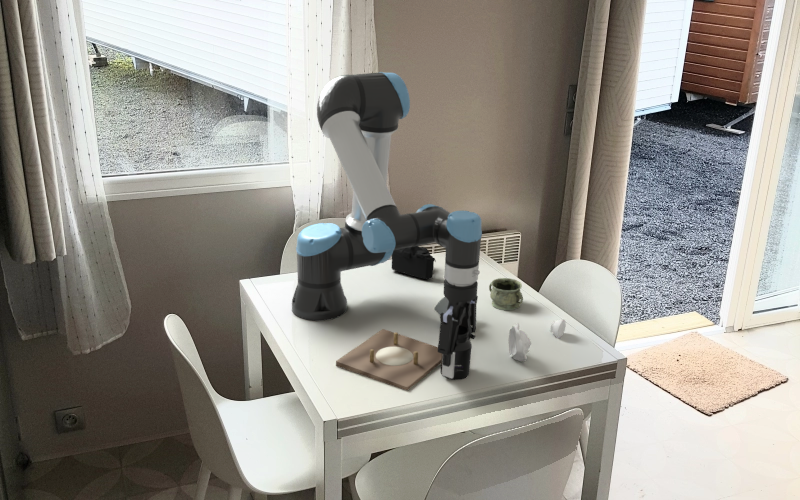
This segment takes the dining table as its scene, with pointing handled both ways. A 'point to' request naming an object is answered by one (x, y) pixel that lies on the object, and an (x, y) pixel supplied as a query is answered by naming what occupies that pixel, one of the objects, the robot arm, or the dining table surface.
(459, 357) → the supplement bottle
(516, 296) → the vessel
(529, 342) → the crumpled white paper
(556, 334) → the white irregular lump
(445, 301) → the ceramic mug
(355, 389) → the dining table surface
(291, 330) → the dining table surface
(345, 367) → the pin board
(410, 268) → the film camera
